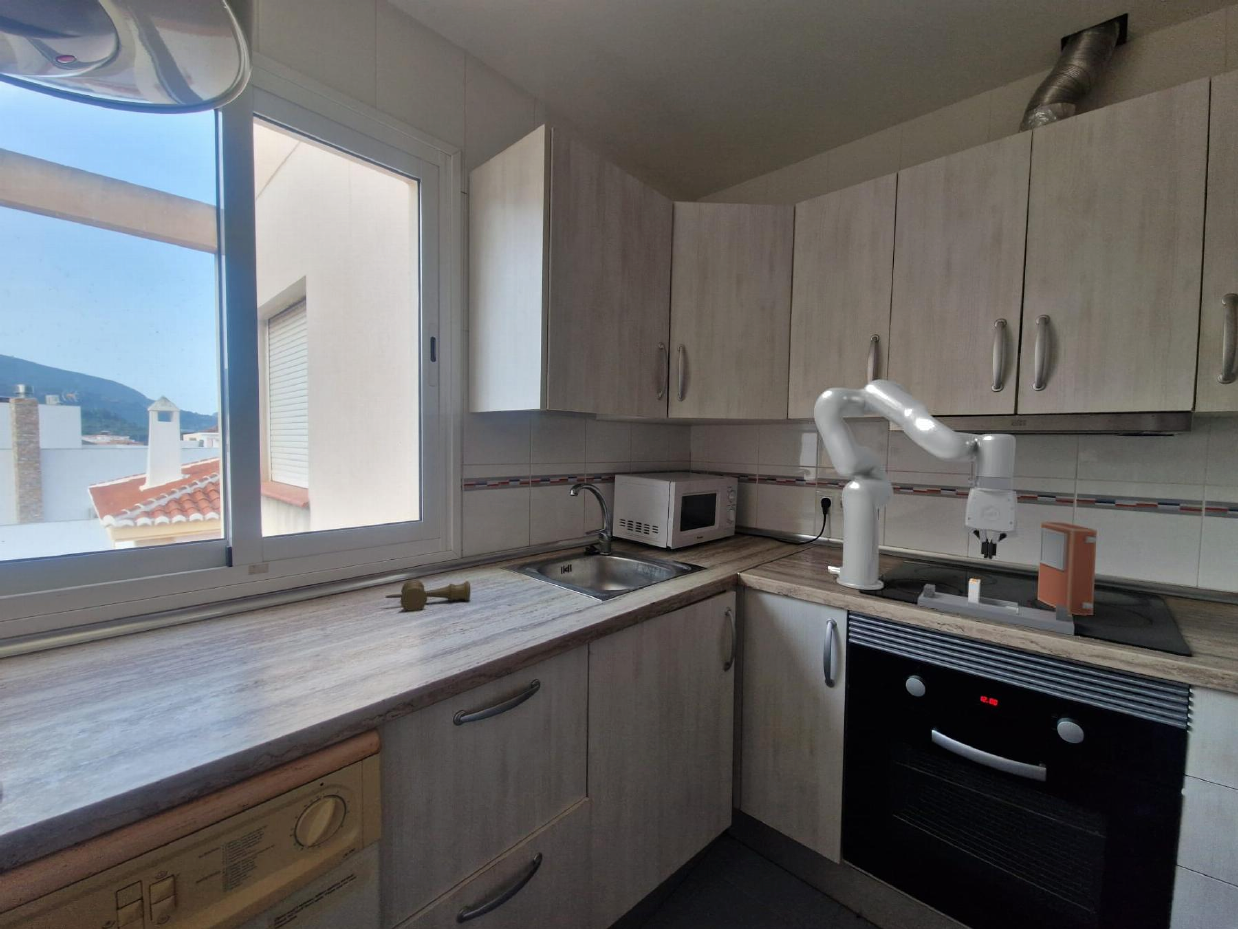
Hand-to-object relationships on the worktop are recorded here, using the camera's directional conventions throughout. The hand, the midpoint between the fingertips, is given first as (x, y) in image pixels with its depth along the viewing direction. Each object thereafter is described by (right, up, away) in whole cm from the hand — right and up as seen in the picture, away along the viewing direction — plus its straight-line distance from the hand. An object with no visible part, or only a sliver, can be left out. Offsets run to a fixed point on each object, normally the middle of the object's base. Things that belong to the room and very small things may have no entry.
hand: (988, 557), depth 124 cm
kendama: (-139, -12, +2) cm, 140 cm away
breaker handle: (-2, -12, +2) cm, 12 cm away
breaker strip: (0, -14, 0) cm, 14 cm away
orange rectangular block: (+24, -14, +6) cm, 29 cm away
